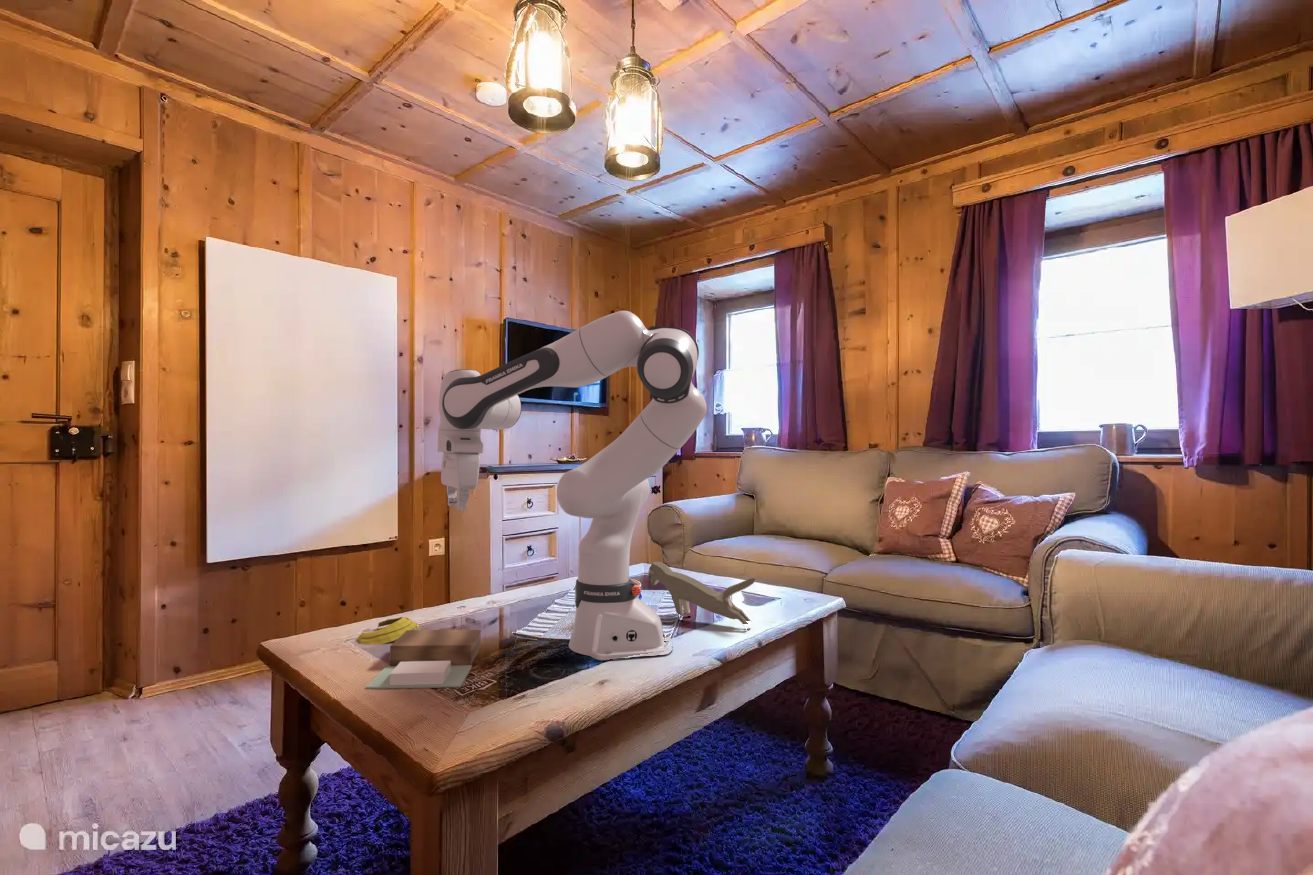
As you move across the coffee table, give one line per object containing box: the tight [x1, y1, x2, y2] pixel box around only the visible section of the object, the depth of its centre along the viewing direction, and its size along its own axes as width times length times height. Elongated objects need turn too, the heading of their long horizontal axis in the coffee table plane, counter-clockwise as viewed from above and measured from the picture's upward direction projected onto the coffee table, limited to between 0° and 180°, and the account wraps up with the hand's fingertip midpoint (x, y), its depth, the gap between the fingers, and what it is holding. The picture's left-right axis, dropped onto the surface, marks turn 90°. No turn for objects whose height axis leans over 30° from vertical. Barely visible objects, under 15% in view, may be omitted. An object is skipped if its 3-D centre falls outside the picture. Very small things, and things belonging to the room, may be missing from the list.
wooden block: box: [389, 629, 482, 666], centre depth 119 cm, size 15×10×4 cm, turn 96°
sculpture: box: [647, 561, 756, 625], centre depth 149 cm, size 6×18×30 cm
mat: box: [365, 664, 473, 690], centre depth 108 cm, size 16×10×1 cm, turn 96°
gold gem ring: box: [356, 616, 421, 646], centre depth 133 cm, size 13×13×4 cm
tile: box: [390, 661, 451, 685], centre depth 107 cm, size 9×6×2 cm, turn 97°
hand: (457, 508), depth 129 cm, fingers open, 8 cm apart
